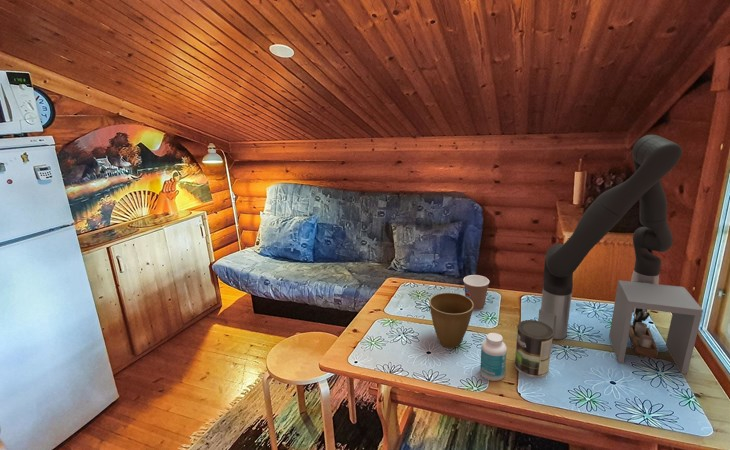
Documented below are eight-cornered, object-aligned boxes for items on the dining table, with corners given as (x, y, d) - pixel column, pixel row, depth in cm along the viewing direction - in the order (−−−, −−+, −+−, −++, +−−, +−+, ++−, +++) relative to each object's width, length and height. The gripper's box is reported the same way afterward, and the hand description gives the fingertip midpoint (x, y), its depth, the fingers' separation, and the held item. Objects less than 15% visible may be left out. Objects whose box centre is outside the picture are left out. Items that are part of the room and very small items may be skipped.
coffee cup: (460, 300, 166) (461, 274, 162) (485, 300, 165) (486, 274, 161) (464, 312, 156) (465, 286, 153) (490, 312, 155) (491, 285, 152)
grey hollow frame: (609, 336, 136) (618, 280, 130) (671, 345, 130) (684, 287, 123) (617, 362, 123) (628, 301, 116) (687, 374, 117) (703, 310, 110)
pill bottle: (506, 383, 117) (509, 345, 113) (481, 381, 118) (483, 343, 114) (503, 367, 124) (505, 330, 120) (479, 365, 125) (480, 329, 121)
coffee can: (521, 378, 118) (524, 338, 114) (509, 357, 128) (512, 320, 124) (555, 377, 118) (559, 337, 114) (541, 356, 128) (545, 319, 124)
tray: (627, 331, 138) (629, 318, 137) (647, 335, 136) (650, 322, 134) (634, 354, 126) (636, 340, 125) (656, 358, 124) (659, 344, 122)
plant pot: (433, 356, 131) (433, 314, 126) (426, 331, 145) (426, 293, 140) (477, 354, 131) (479, 312, 126) (465, 329, 145) (467, 291, 140)
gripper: (626, 274, 140) (620, 316, 145) (636, 291, 128) (628, 336, 134) (651, 276, 137) (643, 319, 143) (663, 294, 126) (654, 339, 131)
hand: (636, 327), depth 138 cm, fingers closed
